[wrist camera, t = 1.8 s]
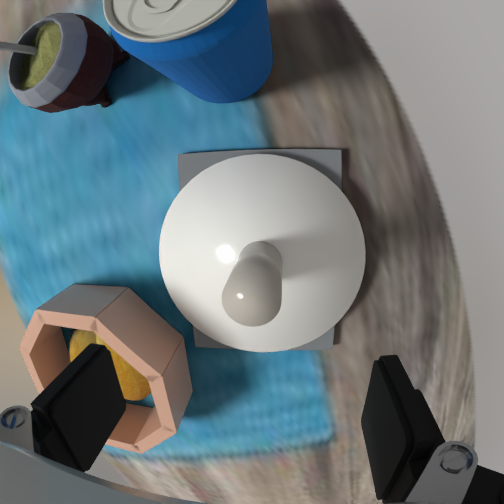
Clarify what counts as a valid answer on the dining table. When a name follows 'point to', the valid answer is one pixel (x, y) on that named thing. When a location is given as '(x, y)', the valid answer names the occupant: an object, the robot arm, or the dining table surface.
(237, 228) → the lid
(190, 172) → the mat
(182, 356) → the octagonal ring frame
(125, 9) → the beverage can
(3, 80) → the dining table surface
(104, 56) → the mate gourd
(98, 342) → the bread roll
